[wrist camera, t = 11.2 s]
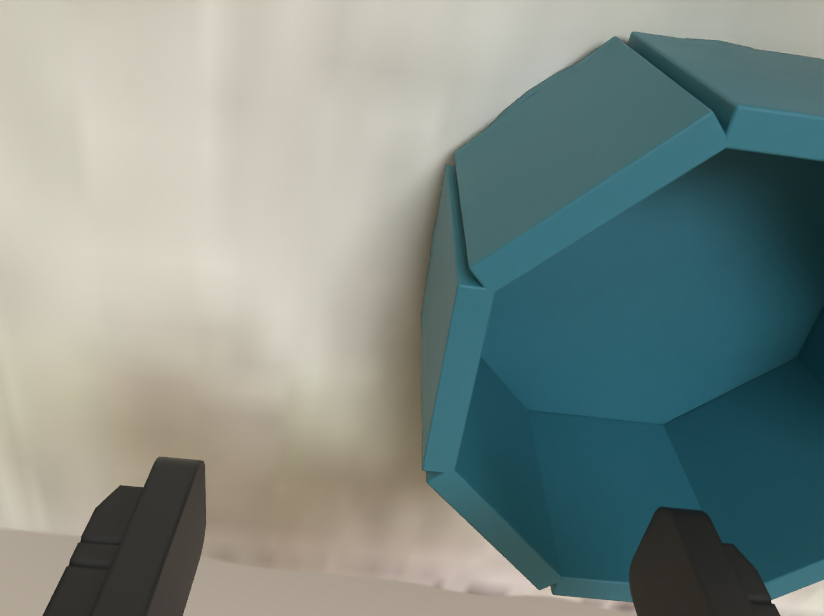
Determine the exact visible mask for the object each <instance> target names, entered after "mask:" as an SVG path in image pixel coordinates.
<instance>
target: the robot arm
mask: <svg viewBox="0 0 824 616" xmlns="http://www.w3.org/2000/svg"><path fill="white" fill-rule="evenodd" d="M205 528H206V493H205V464H204V461H201V460H191V459H180V458H170V457H158V458H157V459H156V461H155V462H154V465H153V467H152V469H151V471H150V474H149V476H148V478H147V481H146V483H145V485H144V488H143V487H133V486H122V485H120V486H119V487H118V488H117V489H116V490H115V491H114V492H112V493H111V494H110V495H109V496H108V497H107V498H106V499H105V500H104V501H103V502H102V503H101V504H100V505H99V506H97V507H96V508H95V510H94V512H93V514H92V516H91V518H90V520H89V522H88V524H87V526H86V528H85V530H84V532H83V534H82V536H81V542H80V543H78V545H77V547H76V549H75V551H74V553H73V555H72V557H71V559H70V563H69V566H68V567H66V569H65V571H64V573H63V575H62V577H61V579H60V581H59V583H58V585H57V587H56V589H55V591H54V594H53V595H52V597H51V600H50V602H49V604H48V606H47V608H46V610H45V612H44V614H43V616H183V613H184V609H185V606H186V603H187V600H188V596H189V593H190V590H191V586H192V583H193V580H194V576H195V573H196V570H197V566H198V563H199V560H200V556H201V552H202V548H203V542H204V536H205ZM629 586H630V592H631V597H632V600H633V603H634V606H635V610H636V613H637V616H780V614H779V612H778V610H777V608H776V606H775V604H772V603H771V596H770V595H769V593H768V591H767V589H766V587H765V585H764V583H763V581H762V579H761V577H760V575H759V573H758V571H757V569H756V568H755V567H754V566H753V565H752V564H751V563H750V562H749V561H748V560H747V559H746V557H745V556H744V555H743V554H742V553H741V552H740V551H739V550H738V549H737V548H736V547H735V545H734V544H729V543H722V541H721V539H720V537H719V535H718V533H717V531H716V529H715V527H714V525H713V523H712V521H711V519H710V517H709V516H708V514H707V513H705V512H704V511H702V510H692V509H682V508H671V507H659V508H658V509H657V510H656V511H655V513H654V515H653V517H652V519H651V521H650V523H649V525H648V527H647V529H646V531H645V534H644V536H643V538H642V540H641V542H640V544H639V546H638V548H637V550H636V552H635V555H634V557H633V559H632V561H631V565H630V572H629Z"/></svg>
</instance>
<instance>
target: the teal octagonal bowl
mask: <svg viewBox="0 0 824 616" xmlns="http://www.w3.org/2000/svg"><path fill="white" fill-rule="evenodd" d="M454 158H455V165H456V166H452V165H446V166H445V172H444V178H443V184H442V191H441V197H440V203H439V209H438V214H437V219H436V223H435V227H434V231H433V236H432V244H431V255H430V264H429V270H428V276H427V282H426V288H425V294H424V300H423V306H422V312H421V395H422V470H424V471H426V481H427V483H428V484H429V485H430V486H431V487H432V488H433V489H434V490H435V491H436V492H437V493H438V494H439V495H440V496H441V497H442V498H443V499H444V500H445V501H446V502H447V503H449V504H450V505H451V506H452V507H453V508H454V509H455V510H456V511H457V512H458V513H459V514H460V515H461V516H462V517H463V518H464V519H465V520H466V521H467V522H468V523H469V524H470V525H472V526H473V527H474V528H475V529H476V530H477V531H478V532H479V533H480V534H481V535H482V536H483V537H484V538H485V539H486V540H487V541H488V542H489V543H490V544H491V545H492V546H493V547H495V548H496V549H497V550H498V551H499V552H500V553H501V554H502V555H503V556H504V557H505V558H506V559H507V560H508V561H509V562H510V563H511V564H512V565H513V566H514V567H515V568H516V569H518V570H519V571H520V572H521V573H522V574H523V575H524V576H525V577H526V578H527V579H528V580H529V581H530V582H531V583H532V584H533V585H534V586H535V587H536V588H537V589H538V590H542V589H544V588H546V587H548V586H551V591H552V594H553V595H560V596H571V597H581V598H592V599H603V600H614V601H625V602H633V600H632V597H631V592H630V586H629V572H630V565H631V561H632V559H633V557H634V555H635V552H636V550H637V548H638V546H639V544H640V542H641V540H642V538H643V536H644V534H645V531H646V529H647V527H648V525H649V523H650V521H651V519H652V517H653V515H654V513H655V511H656V510H657V509H658V508H659V507H671V508H682V509H692V510H702V511H704V512H705V513H707V514H708V516H709V517H710V519H711V521H712V523H713V525H714V527H715V529H716V531H717V533H718V535H719V537H720V539H721V541H722V543H729V544H734V545H735V547H736V548H737V549H738V550H739V551H740V552H741V553H742V554H743V555H744V556H745V557H746V559H747V560H748V561H749V562H750V563H751V564H752V565H753V566H754V567H755V568H756V569H757V571H758V573H759V575H760V577H761V579H762V581H763V583H764V585H765V587H766V589H767V591H768V593H769V595H770V596H771V600H773V599H775V598H778V597H780V596H783V595H786V594H788V593H791V592H793V591H796V590H798V589H801V588H803V587H806V586H809V585H811V584H814V583H816V582H819V581H821V580H824V60H823V59H820V58H813V57H806V56H799V55H792V54H785V53H778V52H771V51H764V50H757V49H753V48H750V47H746V46H741V45H737V44H732V43H728V42H723V41H717V40H703V39H689V38H685V39H681V38H674V37H668V36H661V35H654V34H647V33H640V32H632V33H631V36H630V39H629V43H628V45H626V44H625V43H624V42H622V41H621V40H620V39H619V38H617V37H616V36H615V37H613V38H611V39H610V40H609V41H607V42H606V43H604V44H603V45H602V46H600V47H599V48H598V49H596V50H595V51H593V52H592V53H591V54H589V55H588V56H586V57H585V58H584V59H582V60H581V61H580V62H578V63H576V64H574V65H572V66H570V67H568V68H566V69H564V70H562V71H560V72H558V73H556V74H554V75H553V76H551V77H549V78H548V79H546V80H545V81H543V82H542V83H540V84H538V85H537V86H535V87H534V88H532V89H531V90H529V91H528V92H526V93H525V94H524V95H523V96H521V97H520V98H519V99H518V100H517V101H515V102H514V103H513V104H512V105H511V106H509V107H508V108H507V109H506V110H504V111H503V112H502V113H501V114H500V115H499V116H498V117H497V118H496V120H495V121H494V122H493V123H492V124H491V125H490V126H489V127H488V128H487V129H486V130H484V131H483V132H481V133H480V134H479V135H477V136H476V137H474V138H473V139H472V140H470V141H469V142H468V143H466V144H465V145H463V146H462V147H461V148H459V149H458V150H456V151H455V152H454Z"/></svg>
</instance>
